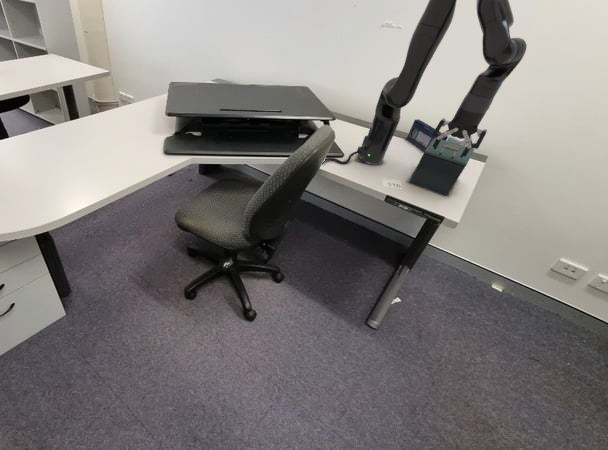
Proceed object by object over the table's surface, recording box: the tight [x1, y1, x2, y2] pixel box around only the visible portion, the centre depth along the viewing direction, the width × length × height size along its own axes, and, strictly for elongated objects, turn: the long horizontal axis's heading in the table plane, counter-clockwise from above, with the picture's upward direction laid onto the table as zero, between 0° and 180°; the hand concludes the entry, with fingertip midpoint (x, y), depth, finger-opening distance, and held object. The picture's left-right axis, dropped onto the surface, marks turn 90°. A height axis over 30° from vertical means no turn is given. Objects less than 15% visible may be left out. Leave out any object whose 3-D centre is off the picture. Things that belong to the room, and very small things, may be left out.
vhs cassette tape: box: [406, 119, 449, 153], centre depth 148 cm, size 18×3×10 cm, turn 11°
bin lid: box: [423, 138, 475, 167], centre depth 120 cm, size 16×14×5 cm
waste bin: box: [408, 152, 466, 197], centre depth 126 cm, size 16×14×13 cm
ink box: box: [446, 135, 467, 146], centre depth 139 cm, size 8×5×12 cm, turn 123°
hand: (448, 152), depth 117 cm, fingers open, 8 cm apart
